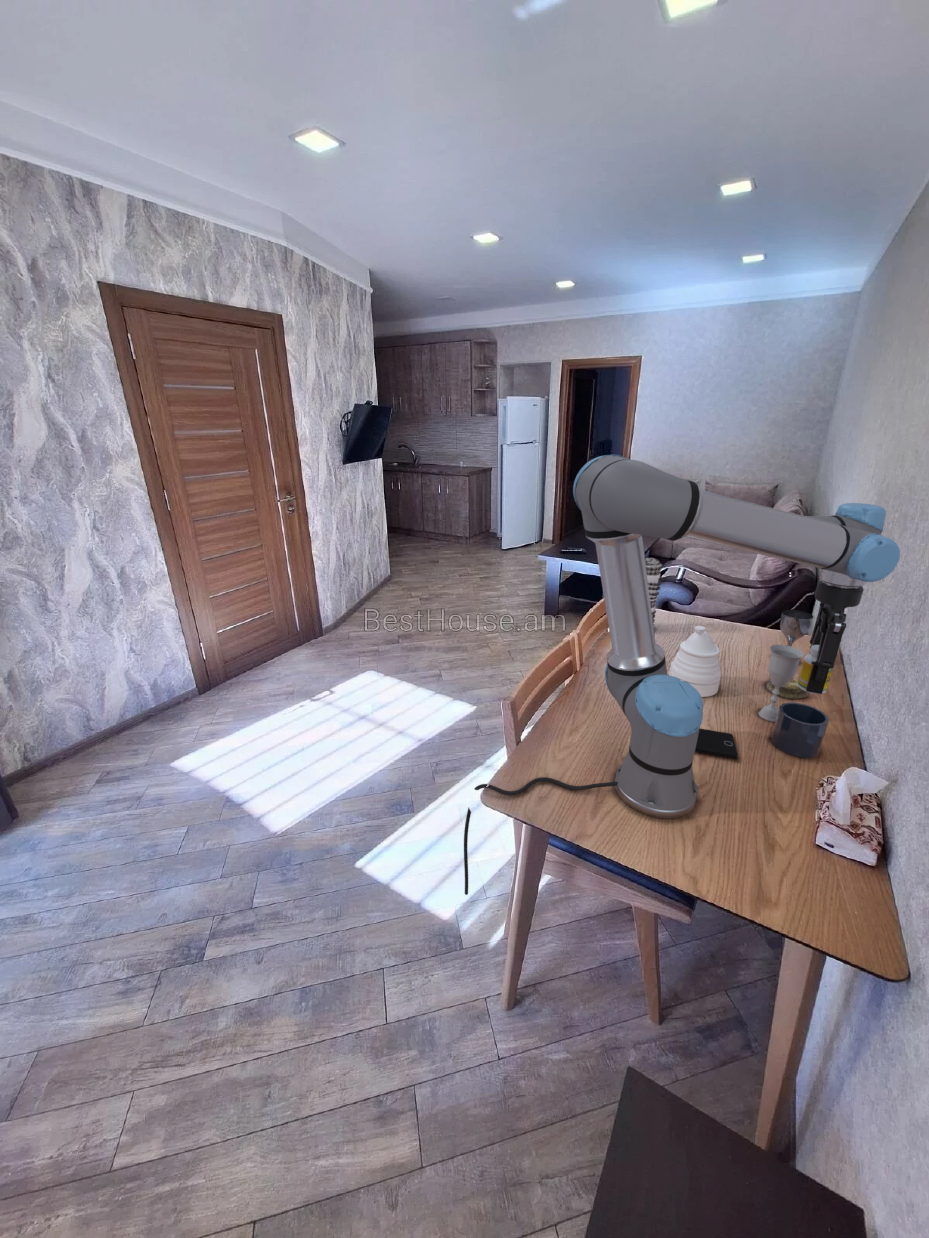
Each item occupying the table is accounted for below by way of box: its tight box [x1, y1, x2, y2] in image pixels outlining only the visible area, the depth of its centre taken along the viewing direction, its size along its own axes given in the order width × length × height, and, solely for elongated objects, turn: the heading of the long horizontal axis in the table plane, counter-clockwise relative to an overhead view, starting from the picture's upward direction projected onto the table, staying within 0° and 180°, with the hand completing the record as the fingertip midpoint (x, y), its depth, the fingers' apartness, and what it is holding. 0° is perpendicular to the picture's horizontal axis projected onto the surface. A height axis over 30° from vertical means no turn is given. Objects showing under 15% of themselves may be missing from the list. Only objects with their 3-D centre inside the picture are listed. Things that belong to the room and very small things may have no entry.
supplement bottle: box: [797, 645, 835, 695], centre depth 107 cm, size 5×5×10 cm
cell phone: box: [695, 728, 739, 760], centre depth 116 cm, size 9×18×1 cm, turn 71°
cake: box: [765, 677, 810, 700], centre depth 136 cm, size 10×10×5 cm
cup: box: [771, 701, 830, 759], centre depth 113 cm, size 9×9×8 cm
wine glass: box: [779, 609, 814, 647], centre depth 151 cm, size 8×8×15 cm
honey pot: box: [668, 625, 722, 698], centre depth 137 cm, size 13×13×18 cm
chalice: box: [758, 644, 804, 723], centre depth 122 cm, size 7×7×18 cm
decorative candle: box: [645, 557, 663, 627], centre depth 173 cm, size 9×9×25 cm
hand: (812, 685), depth 108 cm, fingers closed on supplement bottle, 5 cm apart
